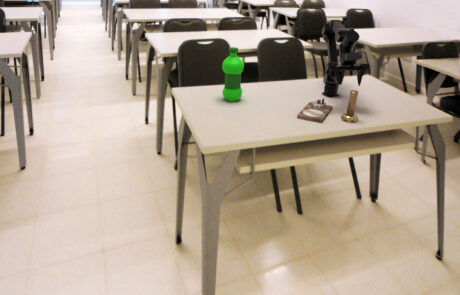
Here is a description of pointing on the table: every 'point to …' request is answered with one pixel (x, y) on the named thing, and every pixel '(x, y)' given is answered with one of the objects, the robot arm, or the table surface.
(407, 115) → the table surface
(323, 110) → the gear board
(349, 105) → the brass gear
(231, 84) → the plastic bottle
